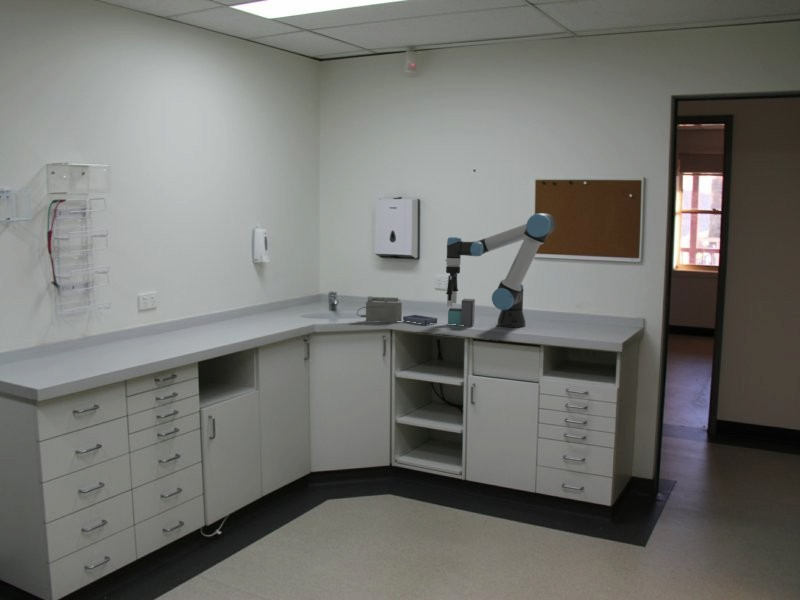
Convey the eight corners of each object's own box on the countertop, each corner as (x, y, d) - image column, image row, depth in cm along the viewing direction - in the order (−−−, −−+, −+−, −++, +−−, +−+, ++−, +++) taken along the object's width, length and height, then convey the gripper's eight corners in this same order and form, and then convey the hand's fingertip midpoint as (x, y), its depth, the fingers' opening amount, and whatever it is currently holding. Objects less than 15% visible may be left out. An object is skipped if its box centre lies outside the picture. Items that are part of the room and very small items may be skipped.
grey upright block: (474, 324, 409) (474, 299, 407) (472, 326, 401) (472, 300, 399) (463, 324, 410) (463, 298, 408) (461, 326, 403) (461, 300, 401)
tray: (437, 323, 411) (437, 318, 411) (425, 325, 404) (425, 319, 404) (414, 319, 423) (414, 314, 422) (403, 321, 416) (403, 316, 415)
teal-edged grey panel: (471, 325, 408) (471, 308, 406) (469, 326, 403) (470, 309, 402) (449, 324, 410) (449, 307, 409) (447, 325, 406) (448, 308, 405)
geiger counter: (402, 296, 416) (357, 295, 418) (401, 297, 409) (356, 296, 412) (402, 321, 417) (357, 320, 420) (400, 323, 411) (355, 321, 414)
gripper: (450, 263, 416) (448, 301, 419) (442, 267, 392) (440, 307, 395) (463, 264, 415) (462, 302, 418) (456, 268, 391) (454, 308, 394)
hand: (451, 304), depth 406 cm, fingers open, 13 cm apart
